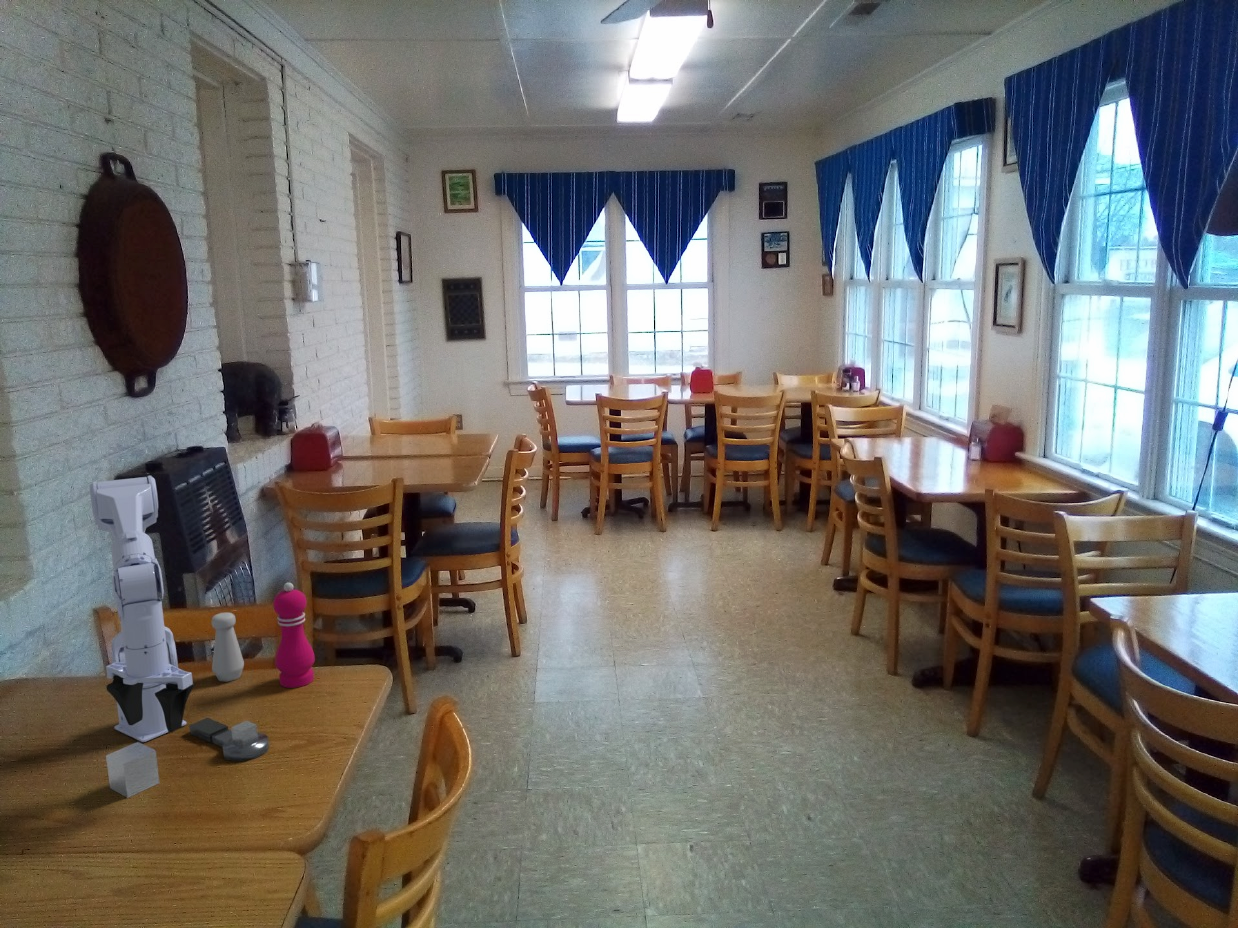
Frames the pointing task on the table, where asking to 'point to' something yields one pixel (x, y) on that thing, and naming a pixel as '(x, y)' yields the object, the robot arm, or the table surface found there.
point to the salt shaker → (226, 648)
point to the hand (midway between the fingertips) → (155, 725)
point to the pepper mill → (293, 639)
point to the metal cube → (132, 769)
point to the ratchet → (232, 738)
